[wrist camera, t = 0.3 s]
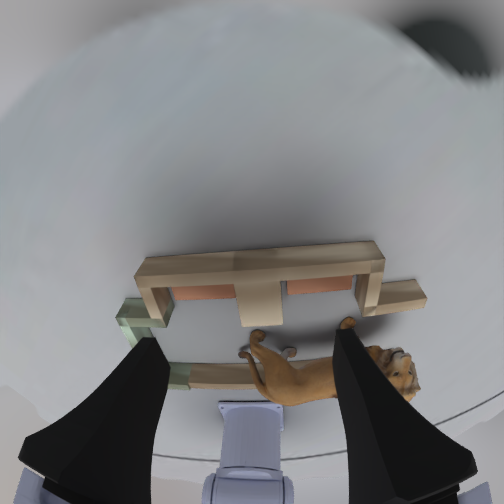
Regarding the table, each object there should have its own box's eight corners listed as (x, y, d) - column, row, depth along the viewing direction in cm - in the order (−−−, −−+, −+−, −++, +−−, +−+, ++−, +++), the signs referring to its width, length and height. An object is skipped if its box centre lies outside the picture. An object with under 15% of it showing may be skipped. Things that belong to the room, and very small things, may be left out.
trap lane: (391, 354, 25) (398, 374, 23) (161, 367, 28) (154, 387, 25) (424, 237, 18) (441, 256, 16) (109, 260, 21) (94, 280, 18)
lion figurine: (392, 293, 21) (432, 378, 13) (392, 332, 24) (420, 410, 16) (228, 333, 24) (216, 423, 16) (248, 366, 27) (243, 446, 19)
